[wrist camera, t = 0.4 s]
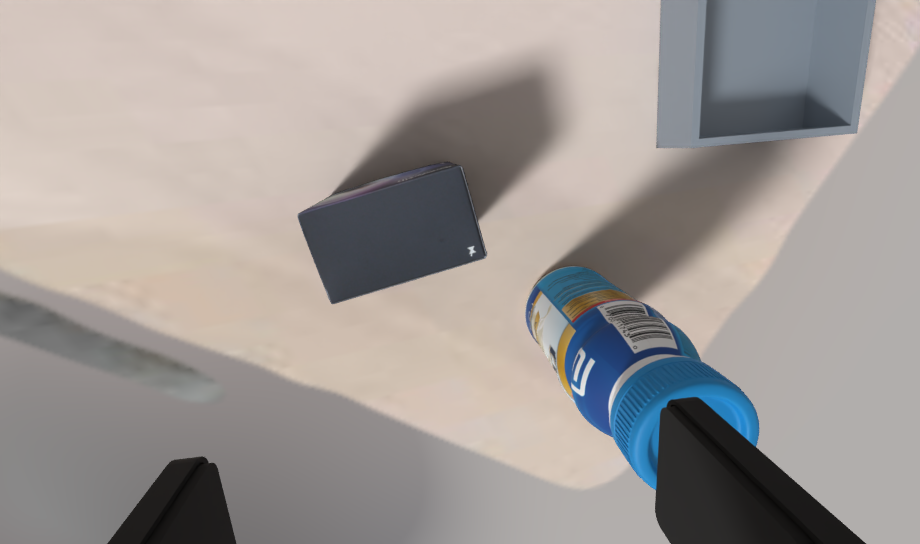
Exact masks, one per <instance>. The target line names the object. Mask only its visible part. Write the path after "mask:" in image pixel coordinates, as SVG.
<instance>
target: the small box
mask: <svg viewBox="0 0 920 544" xmlns="http://www.w3.org/2000/svg"><path fill="white" fill-rule="evenodd" d="M298 219H299V222H300V225H301V228H302V231H303V234H304V236H305V239H306V241H307V244H308V247H309V249H310V252H311V255H312V257H313V259H314V262H315V264H316V267H317V270H318V272H319V275H320V278H321V280H322V282H323V285H324V288H325V290H326V292H327V295H328V298H329V300H330V302H331V304H336V303H339V302H342V301H346V300H349V299H352V298H356V297H359V296H363V295H366V294H369V293H372V292H375V291H379V290H382V289H386V288H389V287H392V286H396V285H399V284H403V283H406V282H409V281H412V280H416V279H419V278H422V277H425V276H428V275H432V274H436V273H439V272H442V271H445V270H449V269H452V268H455V267H459V266H462V265H465V264H468V263H472V262H475V261H478V260H482V259H485V258H486V256H487V251H486V249H485V245H484V242H483V238H482V235H481V231H480V228H479V224H478V220H477V217H476V214H475V210H474V206H473V203H472V199H471V195H470V192H469V189H468V184H467V181H466V178H465V173H464V171H463V168H462V166H460V165H456V164H453V163H450V162H444V163H438V164H434V165H429V166H426V167H422V168H418V169H415V170H411V171H407V172H404V173H400V174H397V175H393V176H389V177H386V178H382V179H379V180H376V181H373V182H370V183H366V184H363V185H360V186H357V187H354V188H351V189H347V190H344V191H342V192H339V193H336V194H334V195H331V196H329V197H327V198H326V199H324V200H322V201H320V202H319V203H317V204H315V205H313V206H312V207H310V208H308V209H306V210H304V211H303V212H301V213H299V214H298Z"/></svg>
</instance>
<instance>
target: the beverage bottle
mask: <svg viewBox="0 0 920 544" xmlns="http://www.w3.org/2000/svg"><path fill="white" fill-rule="evenodd" d="M525 317H526V323H527V326H528V329H529V331H530V333H531V335H532V336H533V338H534V339H535V341H536V342H537V343H538V344H539V345H540V347H541V349H542V350H543V352H544V353H545V355H546V357H547V358H548V360H549V361H550V363H551V365H552V366H553V368H554V370H555V371H556V373H557V376H558V379H559V382H560V384H561V386H562V388H563V389H564V391H565V392H566V394H567V395H568V396H569V397H570V399H571V400H572V401H573V402H574V403H575V404H576V406H577V408H578V409H579V411H580V412H581V414H582V415H583V416H584V418H585V419H586V420H587V421H588V422H589V423H591V424H592V425H593V426H594V427H596V428H597V429H599V430H600V431H602V432H603V433H605V434H607V435H609V436H611V437H613V438H614V440H615V442H616V444H617V446H618V447H619V449H620V450H621V452H622V453H623V455H624V456H625V458H626V459H627V461H628V462H629V464H630V465H631V467H632V468H633V470H634V471H635V472H636V473H637V475H638V476H639V477H640V478H642V479H643V481H644V482H646V483H647V484H648V485H649V486H650V487H652V488H653V489H655V490H656V483H657V464H658V444H659V425H660V412H661V409H662V408H664V407H667V403H668V401H670V400H672V399H680V398H688V397H698V398H700V399H701V400H703V401H704V402H705V403H706V404H707V405H708V406H709V407H711V408H712V409H713V410H714V411H715V412H716V413H717V414H719V415H720V416H721V417H722V418H723V419H724V420H725V421H727V422H728V423H729V424H730V425H731V426H732V427H733V428H735V429H736V430H737V431H738V432H739V433H740V434H741V435H743V436H744V437H745V438H746V439H747V440H748V441H749V442H751V443H752V444H753V445H754V446H755V447H756V445H757V441H758V436H759V421H758V416H757V413H756V410H755V408H754V406H753V404H752V403H751V401H750V400H749V398H748V397H747V396H746V395H745V394H744V392H742V391H741V389H740V388H739V387H737V386H736V385H735V384H733V383H732V382H731V381H730V380H728V379H727V378H726V377H724V376H723V375H721V374H720V373H719V372H717V371H716V370H714V369H713V368H711V367H710V366H708V365H707V364H705V363H703V362H701V360H700V357H699V355H698V353H697V351H696V349H695V347H694V345H693V344H692V342H691V341H690V339H689V338H688V337H687V336H686V335H685V334H684V332H682V331H681V330H680V329H679V328H678V327H676V326H675V325H673V324H672V323H670V322H668V321H667V320H666V319H665V318H664V317H663V316H662V315H661V314H660V313H659V312H658V311H656V310H655V309H653V308H652V307H650V306H648V305H647V304H644V303H642V302H639V301H637V300H635V299H634V298H632V297H631V296H629V295H628V294H626V293H625V292H623V291H622V290H620V289H619V288H617V287H616V286H614V285H613V284H611V283H610V282H608V281H607V280H606V279H605V278H604V277H602V276H601V275H600V274H598V273H597V272H595V271H593V270H591V269H588V268H585V267H579V266H568V267H563V268H559V269H556V270H554V271H552V272H550V273H548V274H547V275H545V276H544V277H543V278H542V279H540V280H539V281H538V283H537V284H536V285H535V286H534V288H533V289H532V291H531V293H530V295H529V297H528V300H527V303H526V310H525Z"/></svg>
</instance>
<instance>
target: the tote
mask: <svg viewBox="0 0 920 544" xmlns="http://www.w3.org/2000/svg"><path fill="white" fill-rule="evenodd" d="M875 3H876V0H661V19H660V51H659V83H658V115H657V147H656V148H697V147H708V146H719V145H731V144H742V143H753V142H764V141H775V140H787V139H798V138H809V137H820V136H831V135H843V134H854V133H857V130H858V123H859V116H860V109H861V102H862V95H863V88H864V81H865V74H866V67H867V60H868V53H869V45H870V38H871V31H872V24H873V17H874V10H875Z"/></svg>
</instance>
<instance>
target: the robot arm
mask: <svg viewBox="0 0 920 544" xmlns="http://www.w3.org/2000/svg"><path fill="white" fill-rule="evenodd" d="M655 513H656V517H657V521H658V523H659V526H660V528H661V529H662V531H663V532H664V534H665V536H666V537H667V538H668V540H669V542H670V543H671V544H866V543H865V542H863V541H862V540H861V539H860V538H859V537H858V536H857V535H856V534H854V533H853V532H852V531H851V530H850V529H848V527H846V526H845V525H844V524H843V523H842V522H841V521H840V520H838V519H837V518H836V517H835V516H834V515H833V514H832V513H830V512H829V511H828V510H827V509H826V508H825V507H824V506H822V505H821V504H820V503H819V502H818V501H817V500H815V499H814V498H813V497H812V496H811V495H810V494H809V493H807V492H806V491H805V490H804V489H803V488H802V487H801V486H800V485H798V484H797V483H796V482H795V481H794V480H793V479H792V478H790V477H789V476H788V475H787V474H786V473H785V472H783V471H782V470H781V469H780V468H779V467H778V466H777V465H776V464H774V463H773V462H772V461H771V460H770V459H769V458H768V457H766V456H765V455H764V454H763V453H762V452H761V451H759V449H757V448H756V447H755V446H754V445H753V444H752V443H751V442H749V441H748V440H747V439H746V438H745V437H744V436H743V435H741V434H740V433H739V432H738V431H737V430H736V429H735V428H733V427H732V426H731V425H730V424H729V423H728V422H727V421H725V420H724V419H723V418H722V417H721V416H720V415H719V414H717V413H716V412H715V411H714V410H713V409H712V408H711V407H709V406H708V405H707V404H706V403H705V402H704V401H703V400H701V399H700V398H698V397H688V398H680V399H672V400H670V401H668V403H667V407H664V408H662V409H661V412H660V425H659V444H658V464H657V483H656V503H655ZM108 544H236V540H235V536H234V533H233V528H232V524H231V520H230V517H229V512H228V508H227V504H226V500H225V496H224V492H223V488H222V484H221V480H220V476H219V472H218V468H217V466H216V465H215V464H214V463H208V460H207V459H206V458H205V457H195V458H187V459H179V460H173V461H171V462H170V463H169V464H168V465H167V466H166V467H165V469H164V470H163V471H162V473H161V474H160V475H159V477H158V478H157V479H156V481H155V482H154V483H153V485H152V486H151V487H150V488H149V490H148V491H147V492H146V494H145V495H144V497H143V498H142V499H141V500H140V502H139V503H138V504H137V506H136V507H135V508H134V509H133V511H132V512H131V513H130V515H129V516H128V517H127V519H126V520H125V521H124V523H123V524H122V525H121V527H120V528H119V529H118V530H117V532H116V533H115V534H114V536H113V537H112V538H111V540H110V541H109V542H108Z"/></svg>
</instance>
